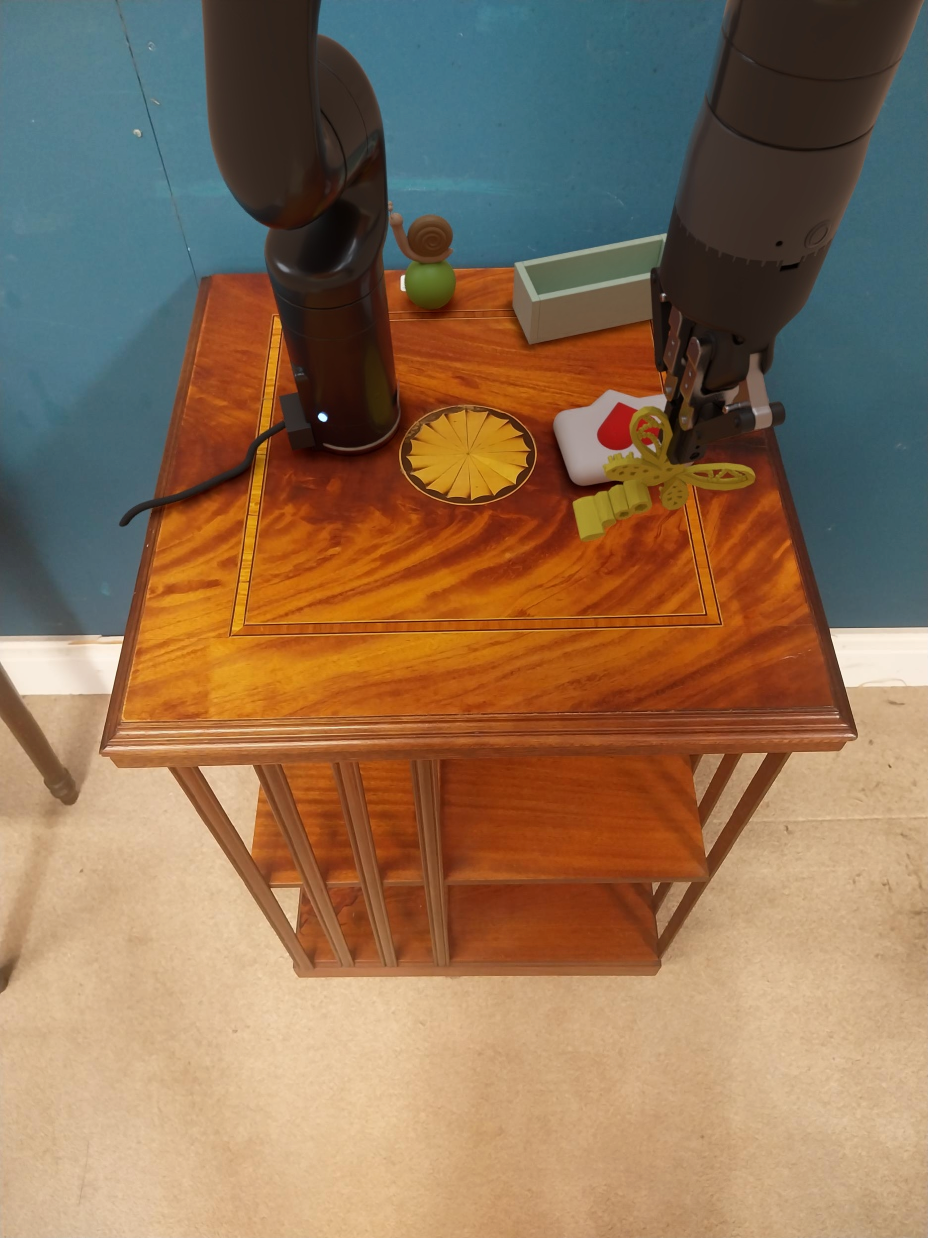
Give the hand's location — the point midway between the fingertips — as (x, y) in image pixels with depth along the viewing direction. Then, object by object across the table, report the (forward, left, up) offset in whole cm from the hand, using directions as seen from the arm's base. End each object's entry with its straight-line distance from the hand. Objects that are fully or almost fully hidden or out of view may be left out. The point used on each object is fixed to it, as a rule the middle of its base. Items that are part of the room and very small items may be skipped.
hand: (678, 449), depth 54 cm
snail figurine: (-7, +42, -21) cm, 47 cm away
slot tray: (+10, +36, -21) cm, 43 cm away
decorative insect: (0, -1, -6) cm, 6 cm away
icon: (+6, +18, -21) cm, 28 cm away
